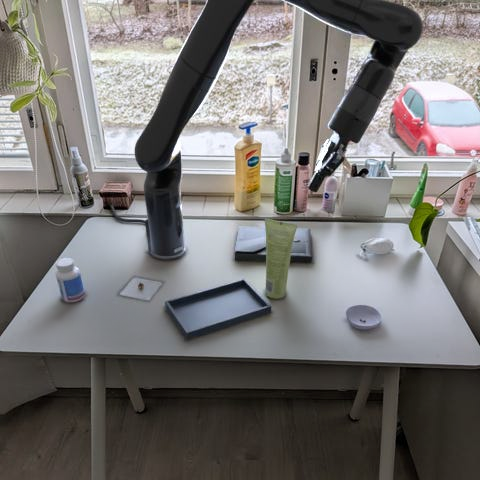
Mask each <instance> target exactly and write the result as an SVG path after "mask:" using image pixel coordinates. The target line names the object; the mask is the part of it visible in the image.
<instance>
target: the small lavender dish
mask: <svg viewBox="0 0 480 480" xmlns="http://www.w3.org/2000/svg"><path fill="white" fill-rule="evenodd" d="M345 319H346V321H347V322H348V324H349V325H350V326H352V327H353V328H356V329H359V330H363V331H364V330H371V329H375V328H377V327H379V326H380V324H381V323H382V319H383V318H382V314H381V313H380V312H379V310H377V308H374V307H373V306H370V305H367V304H357V305H353V306H350V307H348V308H347V309H346V311H345Z"/></svg>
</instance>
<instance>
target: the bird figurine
mask: <svg viewBox="0 0 480 480" xmlns="http://www.w3.org/2000/svg"><path fill="white" fill-rule="evenodd" d="M394 246H395V243H394V242H393V241H392V240H391V239H389V238H385V237H374V238H370V239H368V240H366V241H364V242H362V243H361V244H360V248H361V252H359V253H358V254H359V255H358V257H360V259H362V257H363V258H364V260H365V261H367V258H368V255H386V254H387V253H389V252H395V251H396V249H394Z"/></svg>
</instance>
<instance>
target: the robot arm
mask: <svg viewBox="0 0 480 480" xmlns="http://www.w3.org/2000/svg"><path fill="white" fill-rule="evenodd" d="M255 1H256V0H206V2H205V5H204V7H203V9H202V11H201V12H200V15H199V16H198V18H197V19H196V21H195V23H194V25H193V26H192V29H191V30H190V32H189V33H188V36H187V38H186V40H185V41H184V43H183V45H182V47H181V49H180V52H179V53H178V55H177V57H176V60H175V62H174V64H173V66H172V68H171V70H170V74H169V75H168V78H167V81H166V83H165V85H164V88H163V90H162V92H161V95H160V98H159V101H158V103H157V106H156V108H155V110H154V112H153V114H152V116H151V117H150V119H149V121H148V122H147V124H146V126H145V128H144V129H143V131H142V132H141V134H140V135H139V137H138V138H137V140H136V142H135V145H134V158H135V162H136V163H137V166H139V168H140V169H141V170H142V171H144V172H146V176H145V179H144V182H143V192H144V193H143V194H144V201H145V210H146V217H147V218H146V219H138V218H123V217H121V216H119V215H118V214H117V212H116V210H115V207H114V204H113V205H110V204H109V206H110V210H111V212H112V214H113V216H114V218H115V219H117V220H118V221H120V222H125V223H142V224H144V225H145V234H146V241H147V242H146V243H147V250H148V253H150V254H151V256H153V257H154V258H156V259H158V260H162V261H163V260H164V261H167V260H169V261H170V260H176V259H178V258H181V257H183V256H184V254H185V253H186V245H185V230H184V215H183V204H182V191H181V185H182V181H183V180H182V179H183V162H182V147H181V141H180V137H181V135H182V133H183V131H184V129H185V128H186V126H187V125H188V124H189V122H190V121H191V120H192V118H194V116H195V114H196V113H197V112H198V111H199V109H200V108H201V107H202V105H203V104H204V102H205V101H206V99H207V98H208V96H209V94H210V93H211V91H212V89H213V87H214V86H215V84H216V82H217V80H218V78H219V76H220V74H221V72H222V70H223V68H224V65H225V63H226V60H227V57H228V54H229V51H230V48H231V45H232V41H233V39H234V37H235V34H236V31H237V29H238V28H239V26H240V24H241V23H242V21H243V19H244V18H245V16H246V14H247V13H248V11H249V10H250V8H251V6H252V5H253V4H254V2H255ZM281 1H282V2H285V3H288V4H289V5H292V6H294V7H296V8H298V9H300V10H301V11H303V12H305V13H307V14H308V15H309V16H311V17H313V18H314V19H317V20H318V21H319V22H322V23H323V24H325V25H327V26H330V27H332V28H335V29H336V30H339V31H341V32H343V33H346V34H349V35H350V36H355V37H365V38H368V39H370V40H373V43H372V45H371V47H370V49H369V52H368V54H367V57H366V58H365V60H364V61H363V63H362V64H361V66H360V67H359V69H358V71H357V73H356V75H355V77H354V78H353V80H352V82H351V84H350V85H349V87H348V89H347V90H346V91H345V92H344V94H343V96H342V97H341V99H340V101H339V103H338V105H337V106H336V109H335V110H334V112H333V114H332V116H331V117H330V120H329V122H328V123H327V128H328V129H329V130H331V131H333V133H332V135H331V137H329V139H327V140H326V141H325V142H324V143H322V145H321V146H320V147H321V148H320V151H319V154H318V156H317V159H316V162H315V164H314V173H313V175H312V177H311V178H310V180H309V182H308V184H307V185H306V186H307V189H308V190H309V191H311V192H313V193H318V191H319V190H320V188H321V186H322V185H323V182H324V181H325V179H326V178H328V177H329V178H330V177H331V176H332V175H333V174H334V172H336V170H338V168H339V167H340V166H341V165H342V164H343V163H344V162H345V160H346V157H345V155H346V153H347V151H348V150H347V148H348V145H349V143H350V142H352V143H354V144H359V143H360V142H361V140H362V138H363V136H364V135H365V133H366V131H367V130H368V128H369V126H370V124H371V123H372V121H373V119H374V117H375V116H376V114H377V112H378V110H379V108H380V105H381V103H382V101H383V100H384V97H385V96H386V94H387V92H388V90H389V89H390V88H391V85H392V83H393V82H394V79H395V76H396V72H397V70H398V68H399V66H400V64H401V63H402V61H403V59H404V58H405V56H406V55H407V53H408V52H409V50H410V49H412V48H413V47H415V45H417V44H418V43H419V41H420V39H421V37H422V35H423V31H424V23H423V20H422V17H421V15H420V14H419V13H418V12H417V11H416V10H414V9H412V8H410V7H409V6H406V5H403V4H401V3H397V2H393V1H390V0H281Z"/></svg>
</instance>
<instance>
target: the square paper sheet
mask: <svg viewBox="0 0 480 480" xmlns="http://www.w3.org/2000/svg"><path fill="white" fill-rule="evenodd" d="M162 285H163V282H161V281H155V280H150V279H145V278H139V277H133V278H131V280H130V281H129V283H128V284H126V286H125V287H124V288H123V289H122V291H120V292H119V294H118V295H120V296H124V297H129V298H135V299H139V300H145V301H150V300H151V298H152V297H153V296H154V295H155V294H156V292H157V291H158V289H159V288H161V286H162Z"/></svg>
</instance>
